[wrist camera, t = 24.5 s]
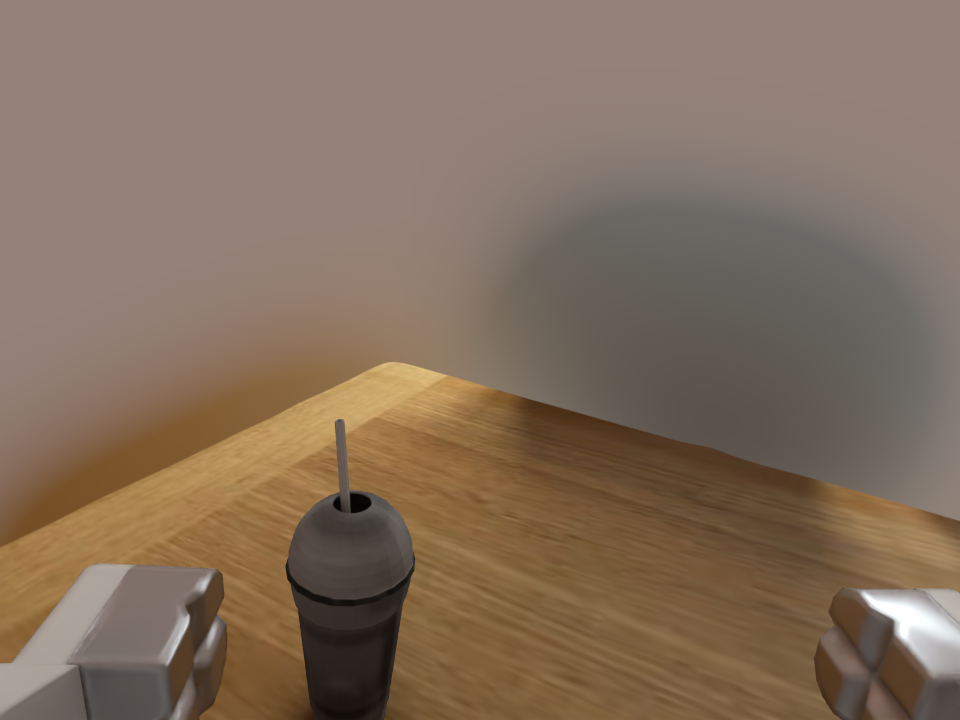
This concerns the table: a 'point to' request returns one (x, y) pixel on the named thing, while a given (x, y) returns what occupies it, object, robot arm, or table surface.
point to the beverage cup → (350, 596)
